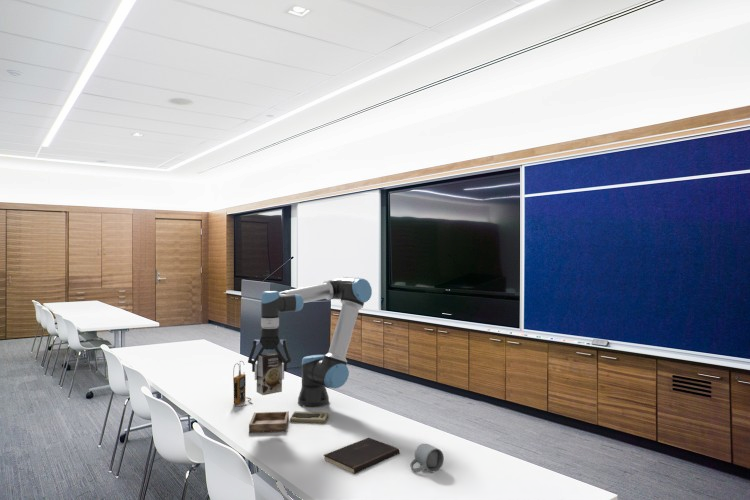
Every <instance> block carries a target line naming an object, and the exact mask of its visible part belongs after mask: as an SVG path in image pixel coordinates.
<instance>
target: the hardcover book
mask: <svg viewBox="0 0 750 500" xmlns="http://www.w3.org/2000/svg"><path fill="white" fill-rule="evenodd" d="M397 455H400V448H398V447H396V446H393V445H390V444H387V443H384V442H382V441H379V440H377V439H375V438H372V437H367V438H364V439H361V440H359V441H356V442H354V443H351V444H348V445H346V446H342V447H341V448H338V449H336V450H332V451H331V452H327V453H325V454H323V457H324V461H327V462H328V463H331V464H332V465H335V466H336V467H340V468H342V469H344V470H346V471H348V472H350V473H352V474H353V475H354V474H355V475H356V474H357V473H359V472H362V471H365V470H367V469H368V468H371V467H373V466H375V465H377V464H379V463H382V462H384V461H386V460H388V459H391V458H393V457H395V456H397Z"/></svg>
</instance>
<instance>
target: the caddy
mask: <svg viewBox="0 0 750 500" xmlns="http://www.w3.org/2000/svg"><path fill="white" fill-rule="evenodd" d="M289 414H290V412H289V411H263V412H262V411H261V412H260V411H259V412H254V413H253V414H252V417H251V419H250V421H249V423H248V433H249V434H260V433H261V434H262V433H263V434H264V433H286V432H287V429H288V425H289V421H290V418H289V417H290V415H289Z"/></svg>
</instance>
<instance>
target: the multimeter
mask: <svg viewBox="0 0 750 500" xmlns="http://www.w3.org/2000/svg"><path fill="white" fill-rule="evenodd" d="M241 362H242V363H243V364H245V363H244V361H243V360H239V363H237V362H236V363H235V364H234V366H233V368H235V367H236V365H238V375H236V376H235V370H233V380H232V381H233V383H232V384H233V404H234V406H235V407H237V408H239V407H245V406H247V405H249V404H250V405H253V402H252V401H251V400H252V398H250V397H248V399H249V400H247V402H248V404H246V403H245V404H242V405H240V404H241V403H243V402H245V401H246V399H247V397H246V383H247V382H246V379H247V378H246V376H247V375H246V374H245V373H242V371H241V369H242V368H241V365H240V363H241ZM238 405H239V406H238Z"/></svg>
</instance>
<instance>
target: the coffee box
mask: <svg viewBox="0 0 750 500" xmlns="http://www.w3.org/2000/svg"><path fill="white" fill-rule="evenodd" d="M256 363H257V380H256V393H258V394H260V395H262V396H267V395H272V394H277V393H282V392H283V380H282V363H283V361H282V360H281V358H280V356H279V355H278V353H277V352H269V353H261V355H259V358H258V360H257V361H256Z"/></svg>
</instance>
